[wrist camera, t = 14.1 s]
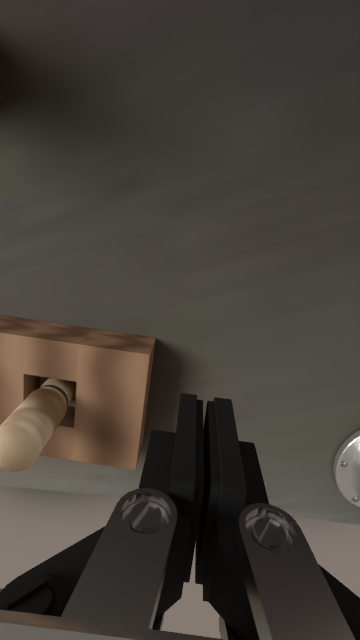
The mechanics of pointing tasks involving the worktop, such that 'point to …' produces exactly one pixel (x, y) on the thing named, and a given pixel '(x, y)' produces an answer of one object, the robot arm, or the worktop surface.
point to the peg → (34, 423)
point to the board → (81, 386)
